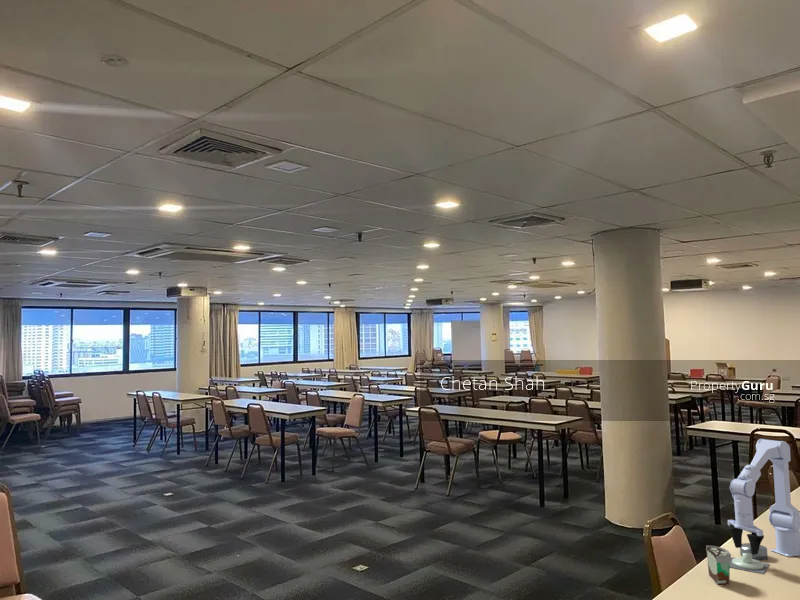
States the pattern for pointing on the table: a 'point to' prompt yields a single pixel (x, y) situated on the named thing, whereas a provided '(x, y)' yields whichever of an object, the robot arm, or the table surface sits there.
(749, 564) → the lid
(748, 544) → the tin
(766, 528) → the table surface
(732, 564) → the mat
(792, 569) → the table surface
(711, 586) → the table surface
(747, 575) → the table surface
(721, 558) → the food container
